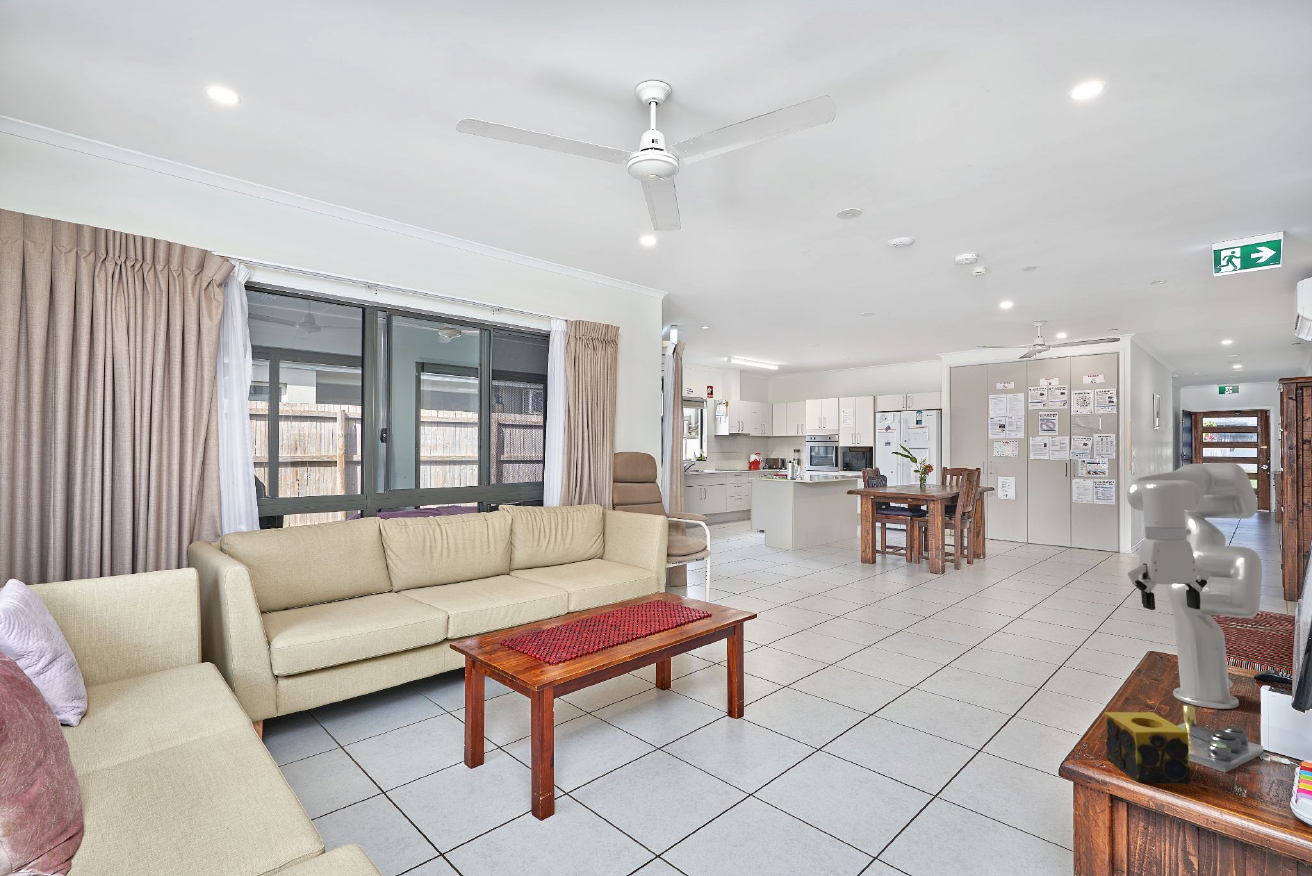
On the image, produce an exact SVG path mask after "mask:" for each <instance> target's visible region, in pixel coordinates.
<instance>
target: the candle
mask: <svg viewBox="0 0 1312 876" xmlns="http://www.w3.org/2000/svg"><path fill="white" fill-rule="evenodd" d="M1103 715H1104V716H1103V717H1104V719H1105V726H1106V731H1107V734H1106V740H1105V746H1106V749H1105V750H1106V752H1105V753H1106V760H1108V761H1109V763H1112V764H1113V765H1114V767H1116V768H1118V769H1119V770H1120V771H1122V772H1123V773H1125V775H1128V776H1129V777H1131V779H1133V780H1134V781H1135V782H1137V783H1141V784H1142V783H1143V784H1145V783H1146V784H1147V783H1148V784H1150V783H1151V784H1152V783H1154V784H1155V783H1156V784H1157V783H1158V784H1178V782H1179V784H1180V783H1181V784H1191V782H1192V778H1191V774H1192V772H1191V768H1190V761H1189V755H1188V753H1189V743H1188V733H1187V731H1185V730H1183V729H1181V728H1180V727H1178V726H1177V725H1176V724H1174V723H1172V722H1171V721H1169V720H1168V719H1165V718H1163V717H1162V716H1160V715H1158V714H1157V713H1155V712H1151V711H1147V712H1145V711H1144V712H1137V711H1135V712H1134V711H1133V712H1131V711H1129V712H1128V711H1127V712H1126V711H1125V712H1123V711H1122V712H1121V711H1119V712H1118V711H1113V712H1112V711H1109V712H1108V711H1106V712H1104V714H1103Z"/></svg>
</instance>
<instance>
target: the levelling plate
mask: <svg viewBox="0 0 1312 876" xmlns="http://www.w3.org/2000/svg"><path fill="white" fill-rule="evenodd" d="M1176 726H1178V727H1180V728H1181V729H1183V730H1185V725H1184V722H1183V723H1180V724H1177V725H1176ZM1221 731H1226V732H1230V733H1233V734H1234V735H1235V736H1237V737H1238V738H1240V740H1241V751H1239V752H1231V748H1230V747H1229V746H1227V745H1225V744H1223V743H1220V742H1210V743H1209V742H1208V741H1206V740H1203V739H1201V738H1198V737H1196V736H1193V735H1190V734H1188V743H1189V753H1188V755H1189V762H1192V763H1196V764H1199V765H1201V766H1205V767H1208V768H1211V769H1214V770H1217V771H1219V772H1223V773H1225V774H1226V773H1227V772H1229V771H1231V770H1234V769H1235V768H1238V767H1239V766H1242V765H1243V764H1245V763H1247V762H1249V761H1251V760H1253V759H1255V758H1257V757H1258V756H1260V754H1261V753H1262V752H1263V753H1264V746H1263V745H1260V744H1257V743H1254V742H1251V741H1248V732H1247V730H1245V729H1243V728H1240V727H1238V726H1232V725H1224V726H1222V727H1221ZM1261 755H1262V754H1261Z"/></svg>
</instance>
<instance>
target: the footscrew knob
mask: <svg viewBox="0 0 1312 876" xmlns="http://www.w3.org/2000/svg"><path fill="white" fill-rule="evenodd" d="M1182 710H1183V723H1184V725H1185V731H1187V733H1188V734H1190V735H1193V736H1196V737H1198V738H1201V739H1203V740H1206V741H1208V742H1209V743H1210V742H1220V743H1223V744H1225V745H1227V746H1229V747H1230V748H1231V752H1239V751H1241V740H1240V738H1238V737H1237V736H1235V735H1234V734H1233V733H1230V732H1226V731H1222V730H1220V729H1219V730H1216V729H1215V730H1212V729H1209V728H1206V727H1204V726H1201V725H1199V724H1197V719H1196V709H1195V705H1192V704H1183V705H1182Z"/></svg>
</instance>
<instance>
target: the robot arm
mask: <svg viewBox="0 0 1312 876" xmlns="http://www.w3.org/2000/svg"><path fill="white" fill-rule="evenodd" d="M1126 499H1127V501H1128V504H1129V505H1130V507H1131V508H1132V509H1134V510H1136V511H1141V512H1143V520H1144V521H1143V522H1144V533H1145V534H1144V535H1145V539H1142V540H1141V543H1140V547H1139V555H1138V557H1139V559H1138V560H1139V561H1138V566H1137V567H1136V568H1134V569H1132V570H1130V571H1128V572H1127V576H1128V578H1129V579H1130V580H1131V583H1132V584H1133V585H1134V586H1135V587H1136V588H1137V589H1138V591H1140V595H1141V604H1142V606H1143V607H1142V608H1144V609H1147V610H1150V611H1155V610H1156V600H1155V599H1156V598H1155V593H1154V592H1152V591H1153V590H1154V589H1155V587H1156V586H1157V585H1167V587H1166V588H1167V595H1168V596H1167V597H1168V599H1169V601H1170V606H1171V610H1172V614H1173V620H1174V627H1175V639H1176V640H1175V641H1176V650H1177V651H1176V652H1177V662H1178V674H1179V685H1180V686H1179V687H1176V688H1174V689H1173V692H1172V693H1173V694H1172V695H1173V697H1175V698H1176V699H1177V700H1179V701H1182V702H1184V703H1185V704H1188V705H1192V706H1197V707H1202V708H1210V709H1218V710H1219V709H1221V710H1222V709H1223V710H1225V709H1227V710H1228V709H1235V708H1237V707H1239V705H1240V703H1239V699H1238V698H1237V697H1235V696H1234V695H1231V694H1230V688H1231V687H1233V686H1234V683H1233V681H1231V680H1230V679H1229V673H1228V662H1227V661H1228V660H1227V649H1226V639H1225V634H1224V633H1225V632H1224V630H1223V629H1222V627H1221V626H1220V624H1219V623H1218V622H1216V620H1214V618H1213V617H1212V616H1222V617H1231V618H1238V619H1239V618H1240V619H1250V618H1254V617H1256V616H1257V615H1258V613H1259V611H1260V607H1261V595H1262V594H1261V593H1262V583H1263V582H1262V581H1263V565H1262V560H1261V558H1260V555H1259V554H1258V553H1257V552H1256V551H1255V550H1254V549H1252V548H1249V547H1245V546H1244V547H1243V546H1237V545H1236V546H1235V545H1232V546H1231V545H1226V542H1227V541H1226V539H1227V538H1226V535H1224V533H1223V532H1222V531H1221V530H1220V529H1219V528H1218V527H1217V526H1216V525H1214V524H1213V523H1211V522H1210V521H1208V520H1207V519H1249V518H1252V517H1253V516H1255V515H1256V513H1257V512H1258V506H1259V504H1258V499H1257V496H1256V493H1255V490H1254V487H1253V485H1252V482H1251V481H1250V478H1249V476H1248V474H1247V472H1246V471H1245V469H1244V468H1243V467H1242V466H1240V464H1236V463H1234V462H1210V463H1209V462H1206V463H1190V464H1186V465H1182V466H1181V467H1179V468H1177V469H1176V470H1174V471H1167V472H1161V473H1158V474H1151V475H1150V474H1149V475H1146V476H1141V477H1138V478H1135V479H1134V480H1133V481H1132V482H1131V483H1129V485H1128V488H1127V492H1126ZM1206 518H1207V519H1206Z"/></svg>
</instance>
